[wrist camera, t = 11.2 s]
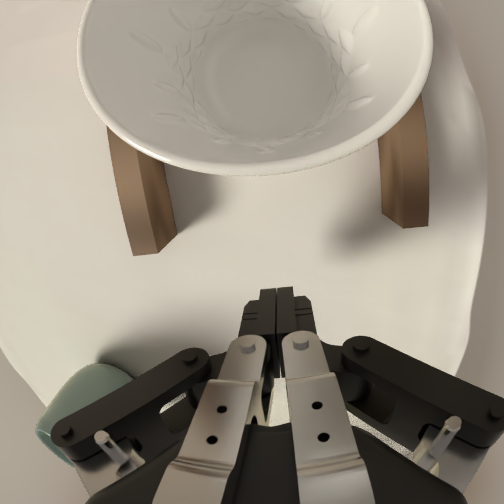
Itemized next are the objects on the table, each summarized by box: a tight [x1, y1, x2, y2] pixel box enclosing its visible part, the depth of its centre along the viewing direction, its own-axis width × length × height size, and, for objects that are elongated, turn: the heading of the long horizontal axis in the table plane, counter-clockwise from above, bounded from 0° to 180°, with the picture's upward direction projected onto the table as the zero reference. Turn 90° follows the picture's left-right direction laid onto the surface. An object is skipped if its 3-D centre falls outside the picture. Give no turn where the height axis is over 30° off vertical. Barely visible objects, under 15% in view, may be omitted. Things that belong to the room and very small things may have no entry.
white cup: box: [76, 0, 433, 176], centre depth 8 cm, size 8×8×10 cm
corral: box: [107, 93, 429, 256], centre depth 11 cm, size 15×15×3 cm
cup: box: [35, 363, 133, 468], centre depth 17 cm, size 8×8×10 cm
